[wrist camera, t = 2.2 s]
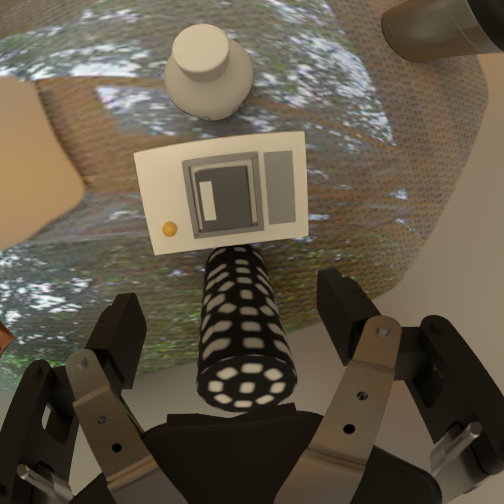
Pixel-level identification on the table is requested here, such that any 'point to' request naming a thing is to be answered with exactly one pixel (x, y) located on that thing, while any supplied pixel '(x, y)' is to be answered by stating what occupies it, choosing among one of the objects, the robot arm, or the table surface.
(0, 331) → the sunglasses case
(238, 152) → the switch box
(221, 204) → the rocker paddle
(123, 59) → the table surface
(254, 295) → the spotted tube
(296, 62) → the table surface
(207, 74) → the bath foam
